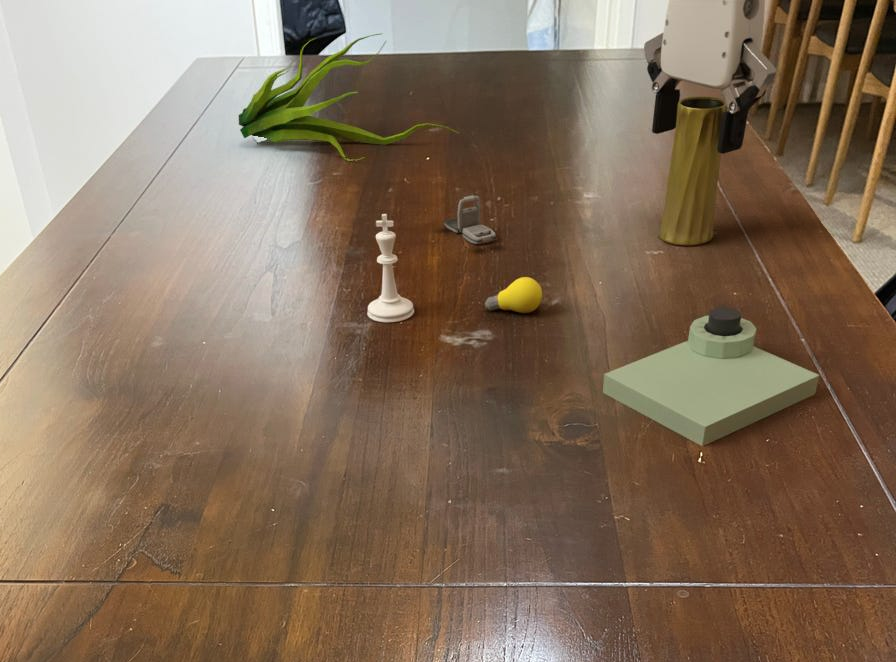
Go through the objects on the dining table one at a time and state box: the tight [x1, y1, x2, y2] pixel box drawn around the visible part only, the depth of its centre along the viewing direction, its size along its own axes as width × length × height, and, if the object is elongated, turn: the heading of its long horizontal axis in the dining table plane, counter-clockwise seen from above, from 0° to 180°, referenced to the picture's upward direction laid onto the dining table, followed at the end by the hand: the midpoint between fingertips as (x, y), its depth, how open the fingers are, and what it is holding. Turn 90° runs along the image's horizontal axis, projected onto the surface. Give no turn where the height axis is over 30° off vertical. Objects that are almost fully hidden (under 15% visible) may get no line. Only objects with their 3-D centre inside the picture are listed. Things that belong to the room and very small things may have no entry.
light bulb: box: [484, 276, 543, 314], centre depth 104 cm, size 3×6×4 cm, turn 84°
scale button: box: [707, 306, 743, 336], centre depth 91 cm, size 3×3×2 cm
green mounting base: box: [602, 315, 820, 447], centre depth 88 cm, size 15×12×4 cm
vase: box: [658, 95, 728, 247], centre depth 113 cm, size 6×6×14 cm
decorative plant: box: [238, 33, 460, 162], centre depth 146 cm, size 18×30×15 cm, turn 49°
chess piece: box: [366, 213, 415, 323], centre depth 102 cm, size 5×5×10 cm
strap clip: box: [443, 194, 497, 245], centre depth 120 cm, size 8×3×4 cm, turn 27°
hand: (695, 140), depth 111 cm, fingers open, 9 cm apart
